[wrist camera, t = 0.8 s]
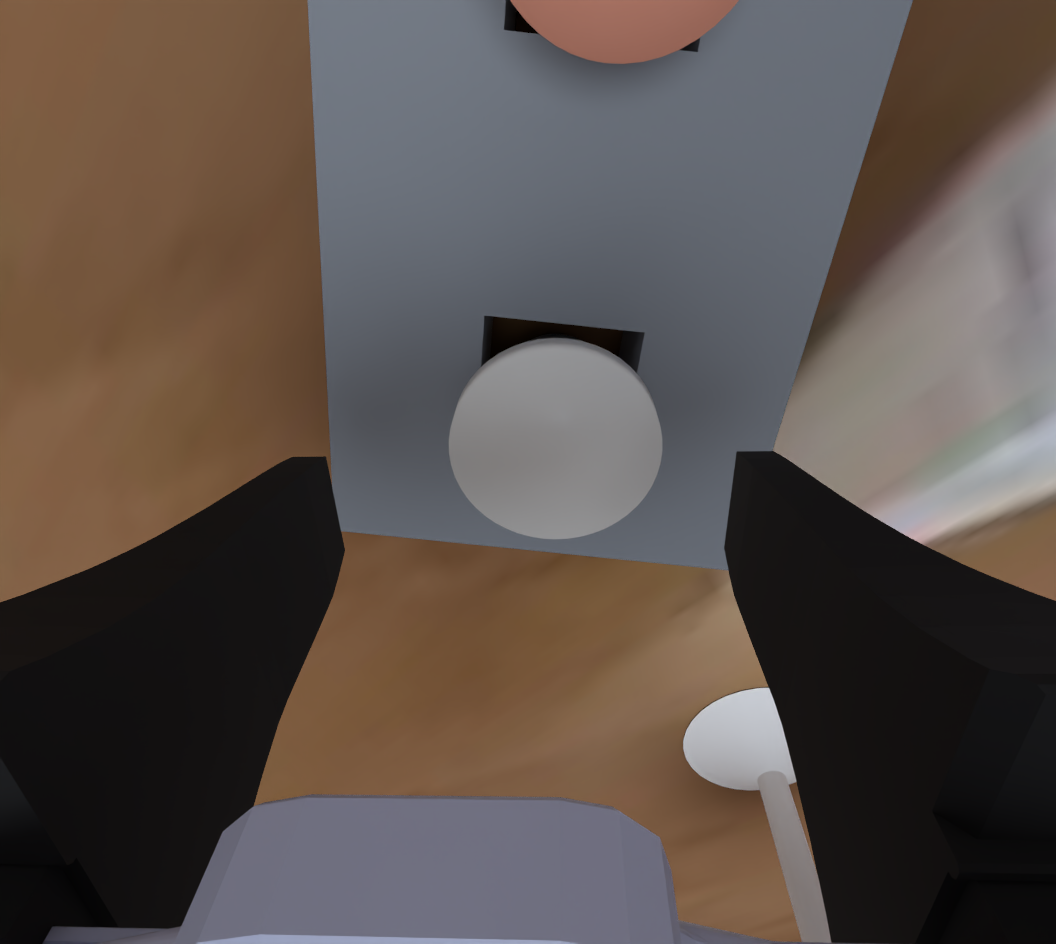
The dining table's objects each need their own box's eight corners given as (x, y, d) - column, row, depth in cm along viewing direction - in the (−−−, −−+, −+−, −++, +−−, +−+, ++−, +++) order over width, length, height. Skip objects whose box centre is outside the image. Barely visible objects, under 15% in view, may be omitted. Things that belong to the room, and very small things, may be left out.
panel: (931, -319, 14) (1049, -439, 11) (709, 499, 24) (734, 570, 21) (347, -391, 14) (280, -539, 11) (366, 464, 24) (334, 530, 21)
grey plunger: (658, 306, 18) (682, 363, 15) (627, 467, 20) (641, 548, 17) (473, 286, 18) (453, 339, 14) (463, 450, 20) (444, 528, 17)
